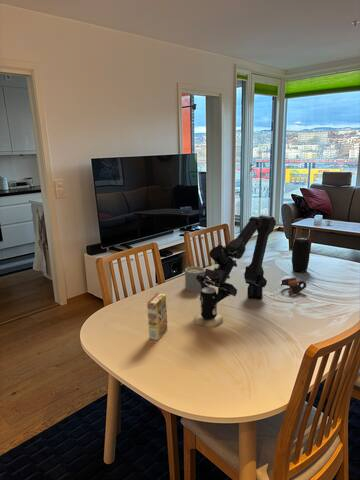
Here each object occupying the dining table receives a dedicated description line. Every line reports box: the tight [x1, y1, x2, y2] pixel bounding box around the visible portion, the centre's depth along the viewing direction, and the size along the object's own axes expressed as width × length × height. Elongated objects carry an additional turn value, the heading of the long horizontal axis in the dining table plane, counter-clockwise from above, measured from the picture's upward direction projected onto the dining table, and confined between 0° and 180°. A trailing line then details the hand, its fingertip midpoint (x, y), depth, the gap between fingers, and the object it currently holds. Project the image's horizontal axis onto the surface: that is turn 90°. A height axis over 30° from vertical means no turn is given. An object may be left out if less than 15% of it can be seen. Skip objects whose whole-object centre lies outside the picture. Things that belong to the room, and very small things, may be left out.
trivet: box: [193, 312, 224, 328], centre depth 150 cm, size 12×12×1 cm
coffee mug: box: [184, 266, 206, 293], centre depth 184 cm, size 13×10×10 cm
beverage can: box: [200, 286, 218, 320], centre depth 148 cm, size 7×7×12 cm
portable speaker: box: [291, 235, 311, 274], centre depth 203 cm, size 9×9×20 cm
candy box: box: [146, 293, 168, 341], centre depth 138 cm, size 9×4×15 cm, turn 158°
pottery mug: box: [280, 277, 307, 296], centre depth 176 cm, size 12×9×8 cm
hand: (206, 302), depth 147 cm, fingers closed on beverage can, 6 cm apart
